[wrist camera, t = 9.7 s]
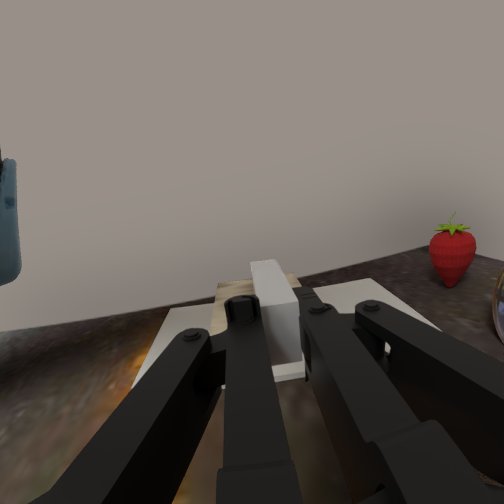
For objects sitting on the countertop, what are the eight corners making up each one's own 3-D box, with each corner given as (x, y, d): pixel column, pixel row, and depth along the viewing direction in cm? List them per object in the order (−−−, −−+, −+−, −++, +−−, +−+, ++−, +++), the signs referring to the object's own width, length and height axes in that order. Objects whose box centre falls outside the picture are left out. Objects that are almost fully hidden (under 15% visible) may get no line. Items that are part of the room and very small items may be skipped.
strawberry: (482, 287, 30) (486, 210, 28) (446, 301, 29) (449, 216, 27) (454, 275, 36) (455, 206, 33) (418, 287, 35) (418, 211, 33)
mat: (133, 393, 22) (131, 388, 22) (171, 312, 39) (170, 308, 39) (443, 338, 22) (444, 333, 22) (370, 281, 40) (370, 278, 40)
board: (210, 327, 27) (218, 283, 39) (215, 350, 27) (221, 300, 40) (317, 310, 27) (292, 272, 39) (319, 334, 27) (294, 290, 40)
